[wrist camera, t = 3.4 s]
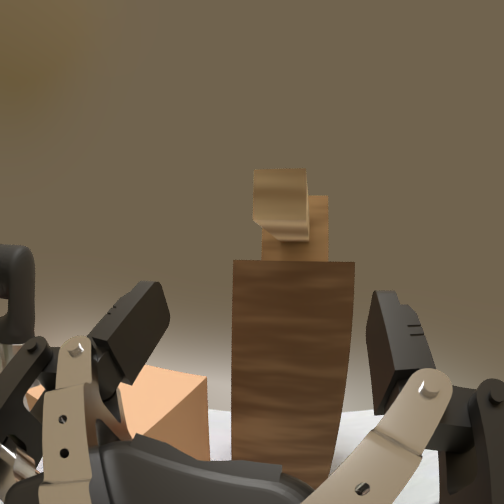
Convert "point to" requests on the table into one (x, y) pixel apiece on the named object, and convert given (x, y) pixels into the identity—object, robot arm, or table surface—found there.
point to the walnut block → (290, 362)
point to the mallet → (290, 216)
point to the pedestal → (163, 409)
